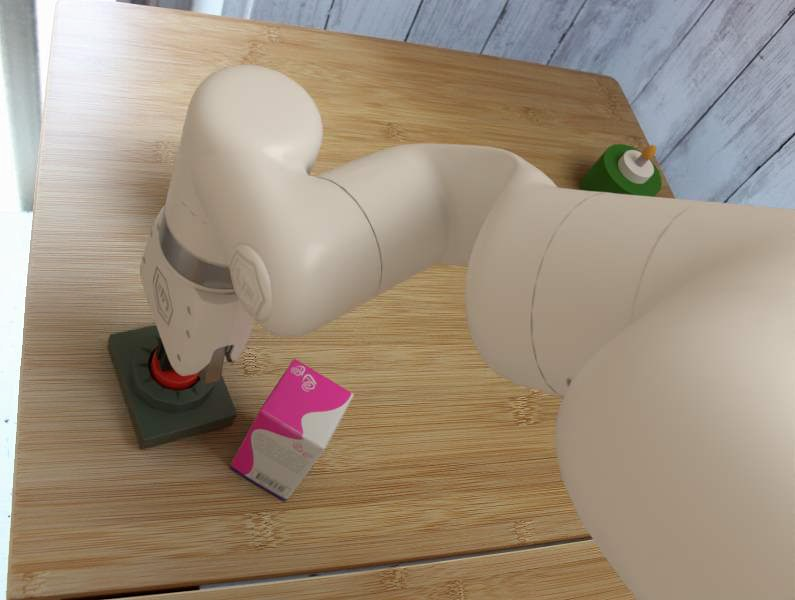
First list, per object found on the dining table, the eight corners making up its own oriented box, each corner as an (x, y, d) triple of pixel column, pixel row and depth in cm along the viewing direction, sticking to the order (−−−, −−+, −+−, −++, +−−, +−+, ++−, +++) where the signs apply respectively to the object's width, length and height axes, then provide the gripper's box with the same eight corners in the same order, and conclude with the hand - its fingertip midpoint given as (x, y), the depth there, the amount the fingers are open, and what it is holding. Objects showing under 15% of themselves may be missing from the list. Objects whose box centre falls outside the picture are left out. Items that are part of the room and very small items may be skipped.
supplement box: (316, 448, 74) (357, 394, 65) (285, 503, 71) (324, 454, 62) (261, 414, 74) (294, 355, 65) (226, 468, 70) (257, 413, 62)
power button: (205, 385, 70) (209, 376, 69) (158, 397, 68) (161, 388, 67) (190, 344, 72) (193, 335, 70) (144, 355, 70) (146, 345, 68)
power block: (232, 425, 73) (242, 406, 70) (140, 450, 69) (146, 432, 66) (195, 327, 76) (203, 305, 73) (106, 346, 72) (110, 323, 69)
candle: (582, 212, 104) (628, 161, 96) (578, 164, 109) (621, 111, 101) (639, 230, 106) (688, 182, 98) (632, 182, 111) (679, 132, 103)
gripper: (129, 149, 55) (105, 292, 70) (201, 344, 50) (159, 454, 64) (235, 139, 59) (192, 276, 73) (313, 319, 54) (250, 429, 68)
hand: (177, 359), depth 69 cm, fingers closed
